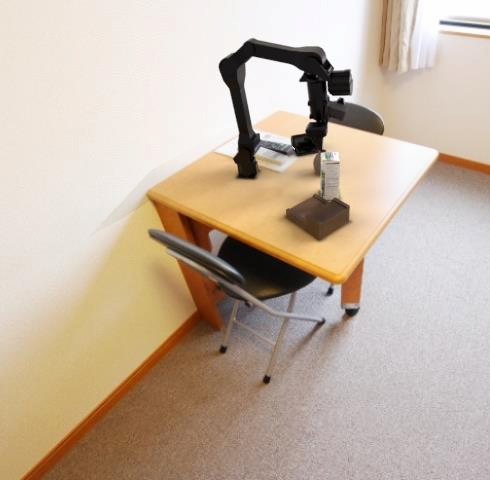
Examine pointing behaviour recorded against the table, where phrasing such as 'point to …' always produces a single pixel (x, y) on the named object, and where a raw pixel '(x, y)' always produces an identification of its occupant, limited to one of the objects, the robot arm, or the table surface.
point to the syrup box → (329, 175)
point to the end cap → (303, 145)
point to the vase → (318, 161)
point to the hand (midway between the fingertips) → (322, 143)
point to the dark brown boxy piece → (319, 215)
